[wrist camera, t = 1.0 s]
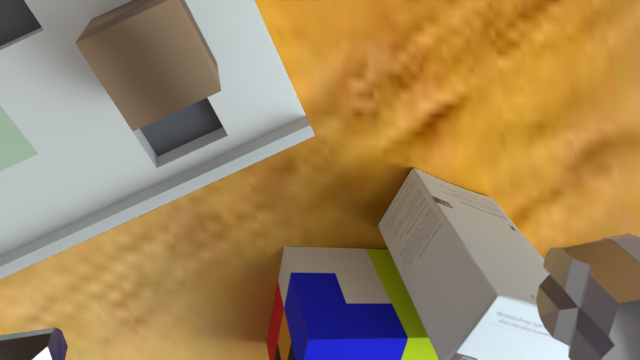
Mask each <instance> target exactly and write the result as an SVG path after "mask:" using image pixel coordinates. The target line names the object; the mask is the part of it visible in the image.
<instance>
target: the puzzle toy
mask: <svg viewBox="0 0 640 360" xmlns="http://www.w3.org/2000/svg"><path fill="white" fill-rule="evenodd" d="M267 347H268V353H269V359H270V360H439V359H438V357H437V354H436V352H435V350H434V348H433V346H432V343H431V341H430V339H429V337H428V335H427V332H426V330H425V328H424V326H423V324H422V321H421V319H420V317H419V315H418V313H417V310H416V308H415V306H414V304H413V302H412V300H411V298H410V295H409V293H408V291H407V289H406V286H405V284H404V282H403V280H402V278H401V276H400V273H399V271H398V269H397V267H396V265H395V263H394V260H393V258H392V256H391V254H390V251H389V249H361V248H326V247H291V246H284V250H283V255H282V261H281V267H280V272H279V278H278V284H277V289H276V295H275V300H274V306H273V312H272V317H271V323H270V329H269V334H268V340H267Z"/></svg>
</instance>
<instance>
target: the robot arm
mask: <svg viewBox="0 0 640 360" xmlns="http://www.w3.org/2000/svg"><path fill="white" fill-rule="evenodd" d="M543 267H544V269H545V270H546V272H547V273H548V276H547V277H546V279H545V280H544V281H543V282H542V283H541V284H540V285H539V288H538V294H537V300H536V303H537V308H538V313H539V317H540V319H541V321H542V323H543V325H544V327H545V329H546V330H547V331H548V332H549V334H550V335H551V336H552V338H554V339H556V340H558V341H560V342H562V343H564V344H566V345H568V346H569V349H568V357H569V358H570V360H640V238H639V237H638V236H635V235H632V234H623V235H617V236H612V237H607V238H603V239H600V240H593V241H587V242H581V243H575V244H569V245H563V246H557V247H551V248H550V250H549V251H548V253H547V254H546V256H545V260H544V265H543ZM67 347H68V346H67V344H66V341H65V338H64V336H63V333H62V331H61V330H60V329H58V328H50V329H43V330H36V331H29V332H22V333H15V334H8V335H1V336H0V360H65V356H66V351H67Z"/></svg>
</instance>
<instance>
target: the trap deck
mask: <svg viewBox="0 0 640 360" xmlns="http://www.w3.org/2000/svg"><path fill="white" fill-rule="evenodd" d="M130 1H132V0H0V279H2V278H4V277H7V276H9V275H11V274H13V273H15V272H18V271H20V270H22V269H24V268H26V267H29V266H31V265H33V264H35V263H37V262H40V261H42V260H44V259H46V258H48V257H50V256H53V255H55V254H57V253H59V252H61V251H64V250H66V249H68V248H70V247H72V246H75V245H77V244H79V243H81V242H83V241H86V240H88V239H90V238H92V237H94V236H96V235H99V234H101V233H103V232H105V231H107V230H110V229H112V228H114V227H116V226H118V225H121V224H123V223H125V222H127V221H129V220H132V219H134V218H136V217H138V216H140V215H142V214H145V213H147V212H149V211H151V210H153V209H156V208H158V207H160V206H162V205H164V204H167V203H169V202H171V201H173V200H175V199H178V198H180V197H182V196H184V195H186V194H188V193H191V192H193V191H195V190H197V189H199V188H202V187H204V186H206V185H208V184H210V183H213V182H215V181H217V180H219V179H221V178H224V177H226V176H228V175H230V174H232V173H234V172H237V171H239V170H241V169H243V168H245V167H248V166H250V165H252V164H254V163H256V162H259V161H261V160H263V159H265V158H267V157H270V156H272V155H274V154H276V153H278V152H280V151H283V150H285V149H287V148H289V147H291V146H294V145H296V144H298V143H300V142H302V141H305V140H307V139H309V138H311V137H313V136H315V134H314V132H313V130H312V128H311V125H310V123H309V121H308V119H307V117H306V115H305V113H304V110H303V108H302V106H301V104H300V101H299V99H298V97H297V95H296V93H295V90H294V88H293V86H292V84H291V81H290V79H289V77H288V75H287V72H286V70H285V68H284V66H283V63H282V61H281V59H280V57H279V54H278V52H277V50H276V48H275V46H274V43H273V41H272V39H271V37H270V34H269V32H268V30H267V28H266V25H265V23H264V21H263V19H262V16H261V14H260V12H259V10H258V8H257V5H256V3H255V1H254V0H185V1H186V3H187V5H188V7H189V9H190V11H191V13H192V15H193V17H194V19H195V21H196V23H197V25H198V27H199V29H200V31H201V32H202V34H203V36H204V38H205V40H206V42H207V44H208V46H209V48H210V50H211V52H212V54H213V56H214V58H215V60H216V62H217V66H218V72H219V79H220V86H221V91H220V92H218V93H216V94H214V95H212V96H209V97H207V98H205V99H203V100H201V101H198V102H196V103H194V104H192V105H190V106H188V107H185V108H183V109H181V110H179V111H177V112H174V113H172V114H170V115H168V116H166V117H164V118H161V119H159V120H157V121H155V122H153V123H150V124H148V125H146V126H144V127H142V128H140V129H137V130H135V131H132V130H131V128H130V127H129V125H128V124H127V122H126V121H125V119H124V118H123V116H122V115H121V113H120V111H119V110H118V108H117V107H116V105H115V104H114V102H113V101H112V99H111V98H110V96H109V95H108V93H107V92H106V90H105V89H104V87H103V85H102V84H101V82H100V81H99V79H98V78H97V76H96V75H95V73H94V72H93V70H92V69H91V67H90V66H89V64H88V63H87V61H86V59H85V58H84V56H83V55H82V53H81V52H80V50H79V49H78V47H77V46H76V44H75V43H76V41H77V40H78V38H79V37H80V35H81V34H82V32H83V31H84V29H85V28H86V26H87V25H88V24H89V22H90V21H91V19H93V18H95V17H97V16H100V15H102V14H104V13H106V12H108V11H110V10H113V9H115V8H117V7H119V6H121V5H123V4H126V3H128V2H130Z"/></svg>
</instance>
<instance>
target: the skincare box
mask: <svg viewBox="0 0 640 360" xmlns="http://www.w3.org/2000/svg"><path fill="white" fill-rule="evenodd" d="M378 228H379V230H380V232H381V234H382V236H383V238H384V241H385V243H386V245H387V247H388V249H389V251H390V254H391V256H392V258H393V260H394V263H395V265H396V267H397V269H398V271H399V273H400V276H401V278H402V280H403V282H404V284H405V286H406V289H407V291H408V293H409V295H410V298H411V300H412V302H413V304H414V306H415V308H416V310H417V313H418V315H419V317H420V319H421V321H422V324H423V326H424V328H425V330H426V332H427V335H428V337H429V339H430V341H431V343H432V346H433V348H434V350H435V352H436V354H437V357H438V359H439V360H570V358H569V357H568V349H569V346H568V345H566V344H564V343H562V342H560V341H558V340H556V339H554V338H552V336H551V335H550V334H549V332H548V331H547V330H546V329H545V327H544V325H543V323H542V321H541V319H540V317H539V313H538V308H537V303H536V300H537V294H538V288H539V285H540V284H541V283H542V282H543V281H544V280H545V279H546V277H547V276H548V273H547V272H546V270H545V269H544V267H543V265H544V259H543V258H542V257H541V255H540V254H539V253H538V252H537V251H536V249H535V248H534V247H533V246H532V245H531V243H530V242H529V241H528V240H527V239H526V237H525V236H524V235H523V234H522V233H521V232H520V230H519V229H518V228H517V227H516V226H515V224H514V223H513V222H512V221H511V220H510V218H509V217H508V216H507V215H506V214H505V212H504V211H503V210H502V209H501V208H500V206H499V205H498V204H497V203H496V202H495V200H493V199H492V198H491V197H488V196H485V195H480V194H477V193H474V192H472V191H469V190H466V189H463V188H460V187H458V186H455V185H453V184H450V183H448V182H445V181H443V180H440V179H438V178H436V177H433V176H431V175H429V174H427V173H425V172H423V171H421V170H418V169H416V168H413V169H412V170H411V171H410V173H409V175H408V176H407V178H406V179H405V181H404V183H403V184H402V186H401V188H400V189H399V191H398V193H397V194H396V196H395V198H394V199H393V201H392V203H391V204H390V206H389V207H388V209H387V211H386V212H385V214H384V216H383V217H382V219H381V221H380V222H379V224H378Z"/></svg>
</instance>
